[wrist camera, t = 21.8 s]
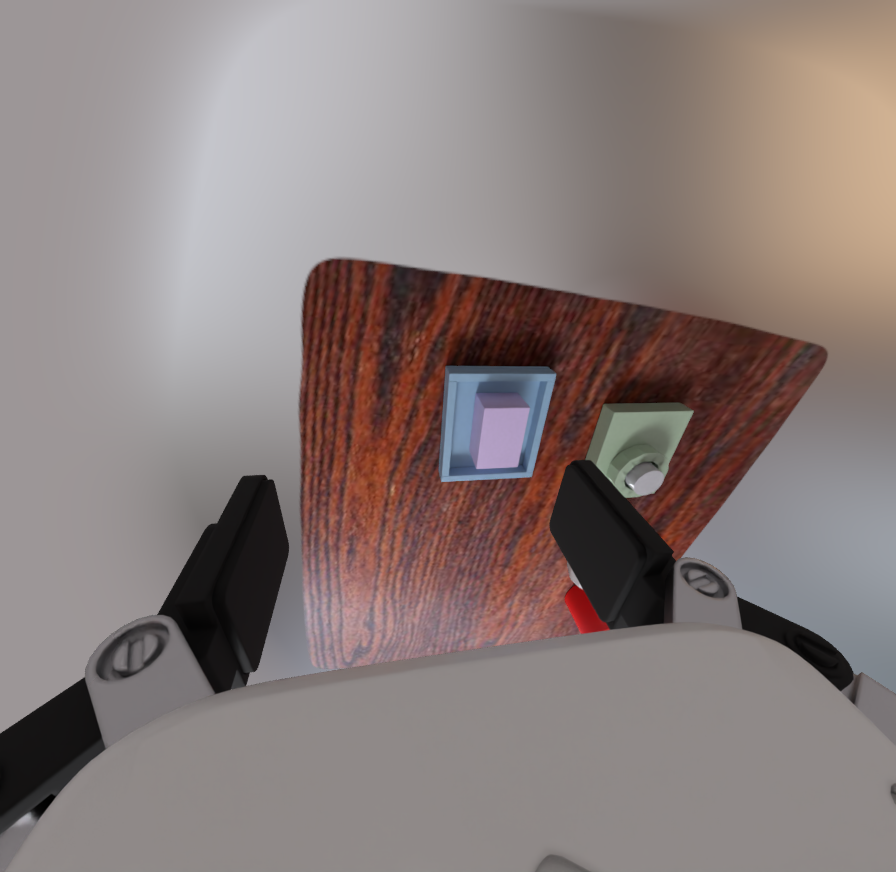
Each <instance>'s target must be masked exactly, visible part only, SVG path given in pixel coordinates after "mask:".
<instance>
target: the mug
mask: <svg viewBox="0 0 896 872" xmlns="http://www.w3.org/2000/svg"><path fill="white" fill-rule="evenodd" d="M565 602H566V604H567V606H568V608H569V610H570V612H571V614H572V616H573V618H574V620H575V622H576V624H577V626H578V628H579V630H580V632H581V634H585V633H592V632H599V631H606V630H610V629H609V627H608V625H607V624H606V622H603V621H601V620H600V618H599V617H598V615H597V613H596V611H595V610H594V608H593V606H592V604H591V603H590V601H589V599H588V597H587V595H586V594H585V592H584V590H583V589H581V588H579V587H578V586H577V585H574V586H573V587H572V588H571V589H570V590H569V591H568V592H567V594H566V596H565Z"/></svg>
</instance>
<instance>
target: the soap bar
mask: <svg viewBox="0 0 896 872" xmlns="http://www.w3.org/2000/svg"><path fill="white" fill-rule="evenodd" d="M529 410H530V407H529V406H528V404H527V403H526V402H525V401H524V400H523V398H522V397H521V396H520V395H519V394H518V393H476V395H475V404H474V412H473V421H472V430H471V438H470V447H469V452H470V454H471V457H472V459H473V461H474V464H475V466H476V469H490V468H509V467H518V463H519V458H520V454H521V449H522V444H523V439H524V434H525V429H526V425H527V420H528V415H529Z"/></svg>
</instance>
